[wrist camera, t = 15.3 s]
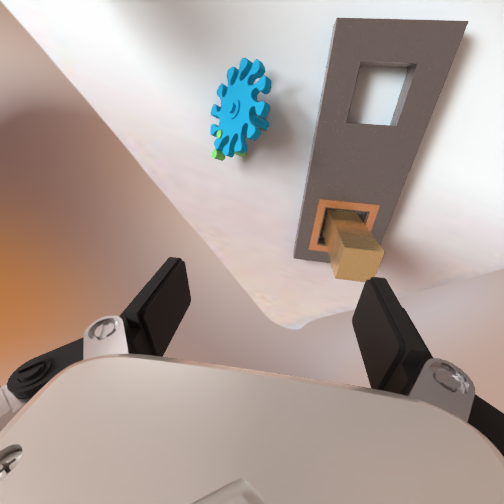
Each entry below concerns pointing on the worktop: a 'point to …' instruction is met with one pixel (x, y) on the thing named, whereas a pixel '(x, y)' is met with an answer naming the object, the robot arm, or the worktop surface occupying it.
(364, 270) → the peg
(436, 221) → the worktop surface
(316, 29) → the worktop surface
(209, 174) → the worktop surface
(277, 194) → the worktop surface
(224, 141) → the gear
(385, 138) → the rail plate
